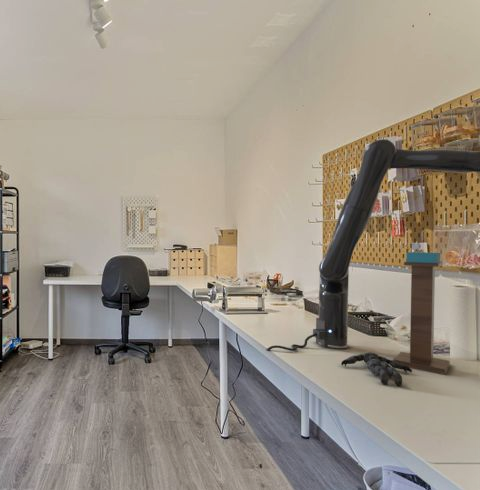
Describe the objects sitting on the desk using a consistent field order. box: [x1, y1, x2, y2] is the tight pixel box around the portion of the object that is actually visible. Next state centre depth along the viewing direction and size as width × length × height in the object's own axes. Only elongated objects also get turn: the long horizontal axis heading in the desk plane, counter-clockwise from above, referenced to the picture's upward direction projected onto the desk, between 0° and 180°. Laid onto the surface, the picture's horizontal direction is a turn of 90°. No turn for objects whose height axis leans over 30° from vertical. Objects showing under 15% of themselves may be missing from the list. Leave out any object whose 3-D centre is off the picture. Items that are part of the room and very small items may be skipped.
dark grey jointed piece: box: [341, 351, 413, 387], centre depth 106 cm, size 18×4×20 cm
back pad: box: [405, 251, 441, 263], centre depth 116 cm, size 19×7×3 cm, turn 132°
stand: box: [393, 261, 451, 375], centre depth 113 cm, size 12×12×32 cm
